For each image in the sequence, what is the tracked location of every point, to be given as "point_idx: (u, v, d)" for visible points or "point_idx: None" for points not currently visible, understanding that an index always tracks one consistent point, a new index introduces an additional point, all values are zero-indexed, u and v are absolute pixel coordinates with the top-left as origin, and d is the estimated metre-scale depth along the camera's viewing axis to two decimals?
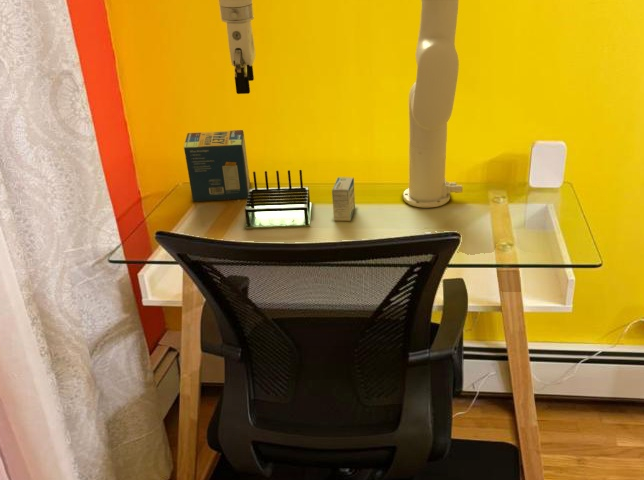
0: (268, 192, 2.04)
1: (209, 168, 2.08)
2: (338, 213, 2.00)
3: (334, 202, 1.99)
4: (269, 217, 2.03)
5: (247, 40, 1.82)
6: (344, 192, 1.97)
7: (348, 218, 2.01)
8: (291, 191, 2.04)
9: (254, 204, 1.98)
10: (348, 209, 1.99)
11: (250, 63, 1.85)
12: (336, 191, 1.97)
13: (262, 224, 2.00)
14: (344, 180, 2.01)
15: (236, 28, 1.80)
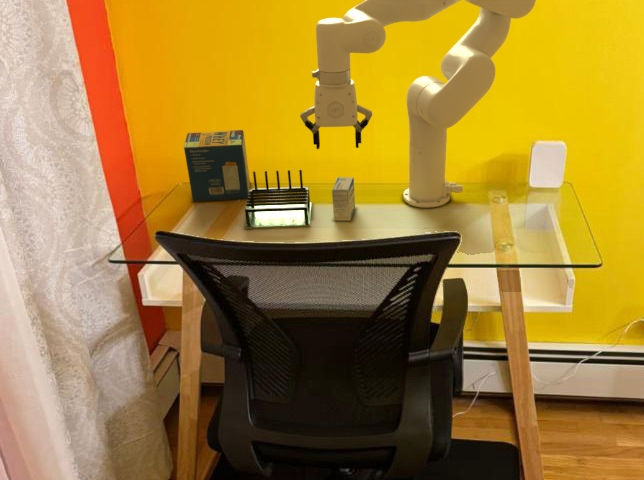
0: (268, 192, 2.04)
1: (209, 168, 2.08)
2: (338, 213, 2.00)
3: (334, 202, 1.99)
4: (269, 217, 2.03)
5: (316, 101, 1.85)
6: (344, 192, 1.97)
7: (348, 218, 2.01)
8: (291, 191, 2.04)
9: (254, 204, 1.98)
10: (348, 209, 1.99)
11: (316, 123, 1.88)
12: (336, 191, 1.97)
13: (262, 224, 2.00)
14: (344, 180, 2.01)
15: None
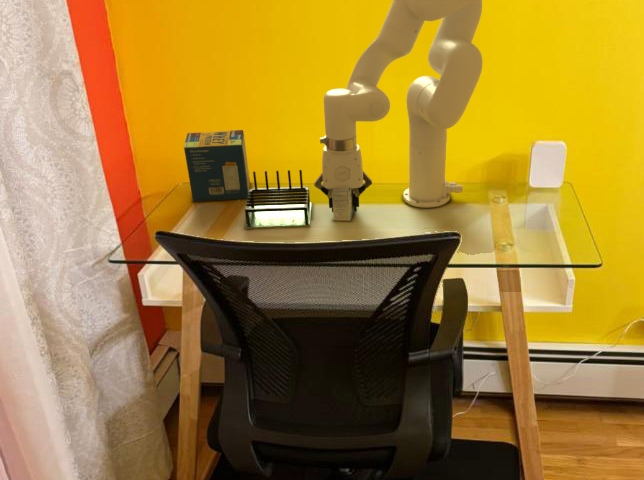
0: (268, 192, 2.04)
1: (209, 168, 2.08)
2: (338, 213, 2.00)
3: (334, 202, 1.99)
4: (269, 217, 2.03)
5: (323, 166, 1.94)
6: (344, 192, 1.97)
7: (348, 218, 2.01)
8: (291, 191, 2.04)
9: (254, 204, 1.98)
10: (348, 209, 1.99)
11: (324, 185, 1.97)
12: (336, 191, 1.97)
13: (262, 224, 2.00)
14: None
15: None
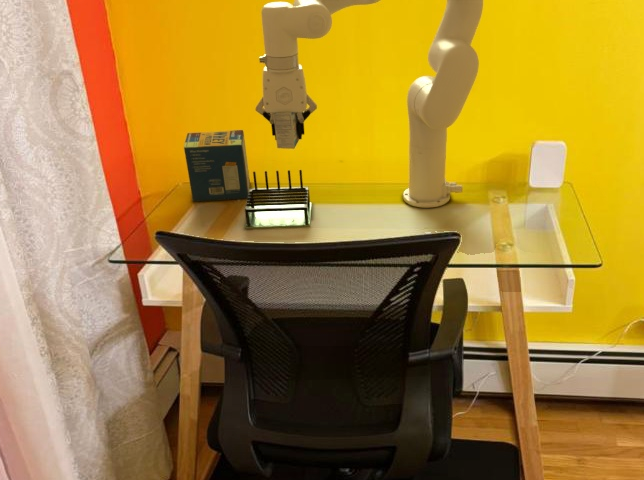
0: (268, 192, 2.04)
1: (209, 168, 2.08)
2: (281, 140, 1.89)
3: (276, 128, 1.87)
4: (269, 217, 2.03)
5: (264, 87, 1.82)
6: (287, 116, 1.85)
7: (292, 145, 1.89)
8: (291, 191, 2.04)
9: (254, 204, 1.98)
10: (291, 135, 1.87)
11: (265, 109, 1.85)
12: (278, 115, 1.85)
13: (262, 224, 2.00)
14: None
15: None
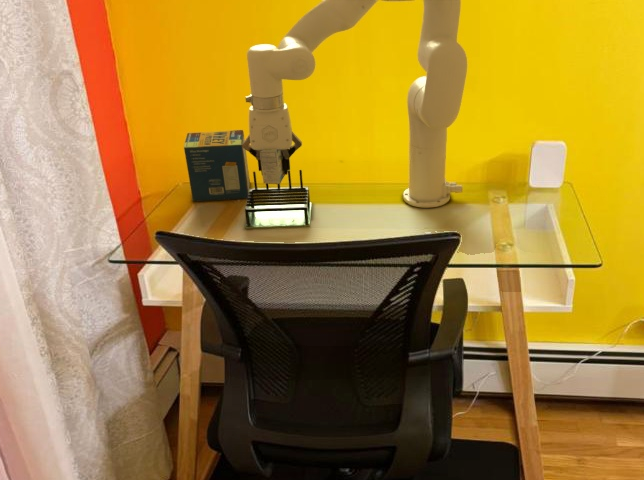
0: (268, 192, 2.04)
1: (209, 168, 2.08)
2: (267, 176, 1.94)
3: (262, 164, 1.92)
4: (269, 217, 2.03)
5: (250, 126, 1.88)
6: (272, 153, 1.90)
7: (277, 180, 1.94)
8: (291, 191, 2.04)
9: (254, 204, 1.98)
10: (277, 171, 1.93)
11: (251, 146, 1.91)
12: (264, 152, 1.90)
13: (262, 224, 2.00)
14: None
15: None
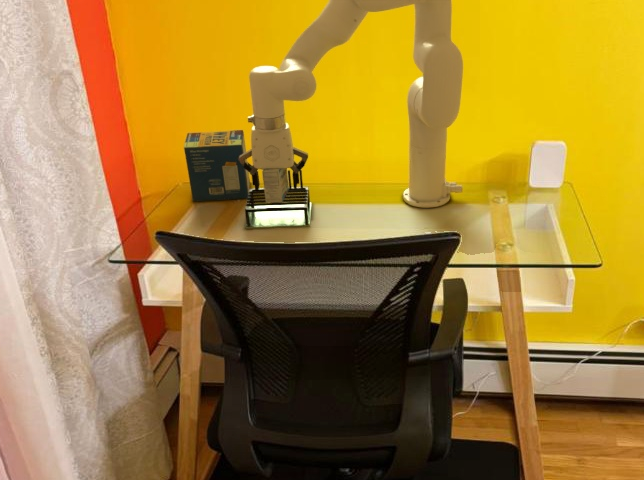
0: None
1: (209, 168, 2.08)
2: (269, 195, 1.97)
3: (265, 183, 1.95)
4: (269, 217, 2.03)
5: (252, 145, 1.91)
6: (274, 173, 1.93)
7: (280, 199, 1.97)
8: (291, 191, 2.04)
9: (254, 204, 1.98)
10: (279, 191, 1.96)
11: (254, 165, 1.94)
12: (266, 172, 1.93)
13: (262, 224, 2.00)
14: None
15: None
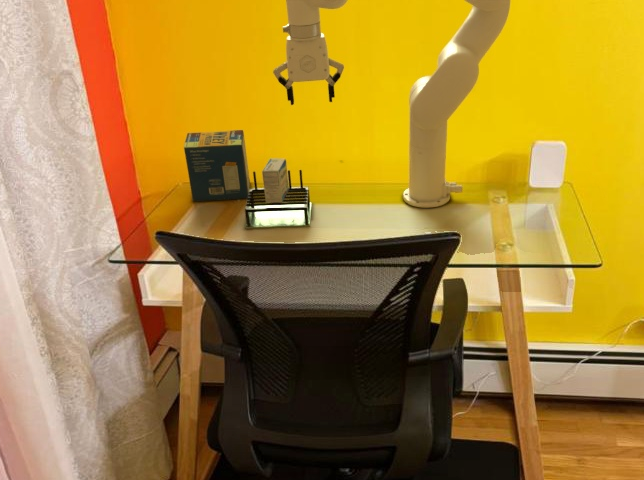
0: None
1: (209, 168, 2.08)
2: (269, 195, 1.97)
3: (265, 183, 1.95)
4: (269, 217, 2.03)
5: (287, 56, 1.88)
6: (274, 173, 1.93)
7: (280, 199, 1.97)
8: (291, 191, 2.04)
9: (254, 204, 1.98)
10: (279, 191, 1.96)
11: (289, 78, 1.91)
12: (266, 172, 1.93)
13: (262, 224, 2.00)
14: (276, 161, 1.98)
15: None
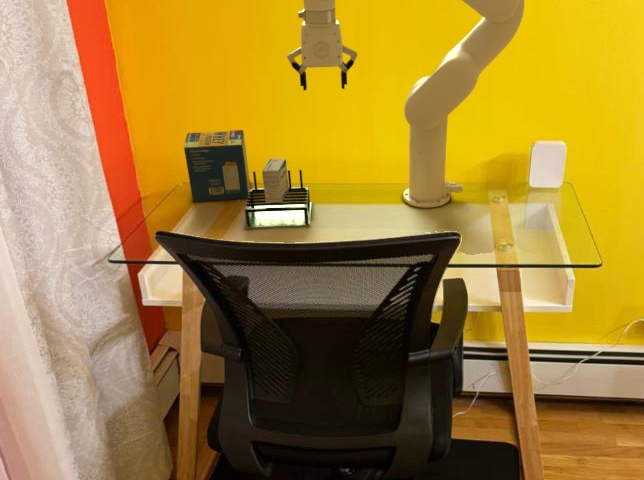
0: None
1: (209, 168, 2.08)
2: (269, 195, 1.97)
3: (265, 183, 1.95)
4: (269, 217, 2.03)
5: (302, 41, 1.90)
6: (274, 173, 1.93)
7: (280, 199, 1.97)
8: (291, 191, 2.04)
9: (254, 204, 1.98)
10: (279, 191, 1.96)
11: (303, 63, 1.93)
12: (266, 172, 1.93)
13: (262, 224, 2.00)
14: (276, 161, 1.98)
15: (302, 27, 1.90)
